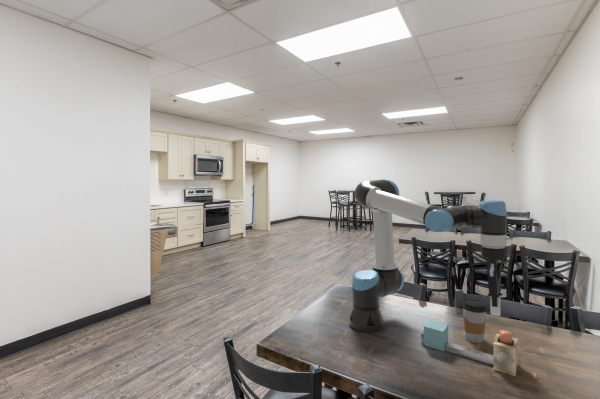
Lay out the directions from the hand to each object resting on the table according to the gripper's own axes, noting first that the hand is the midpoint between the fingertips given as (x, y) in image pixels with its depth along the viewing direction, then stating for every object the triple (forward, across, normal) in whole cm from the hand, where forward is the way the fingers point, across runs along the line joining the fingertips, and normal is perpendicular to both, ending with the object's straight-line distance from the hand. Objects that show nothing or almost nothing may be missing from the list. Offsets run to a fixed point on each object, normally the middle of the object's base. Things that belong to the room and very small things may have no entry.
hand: (495, 314), depth 102 cm
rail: (+17, 0, +12) cm, 21 cm away
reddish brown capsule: (+9, 0, -3) cm, 9 cm away
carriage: (+17, 0, +20) cm, 26 cm away
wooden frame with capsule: (+18, 0, -2) cm, 18 cm away
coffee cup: (+18, +14, +9) cm, 24 cm away
